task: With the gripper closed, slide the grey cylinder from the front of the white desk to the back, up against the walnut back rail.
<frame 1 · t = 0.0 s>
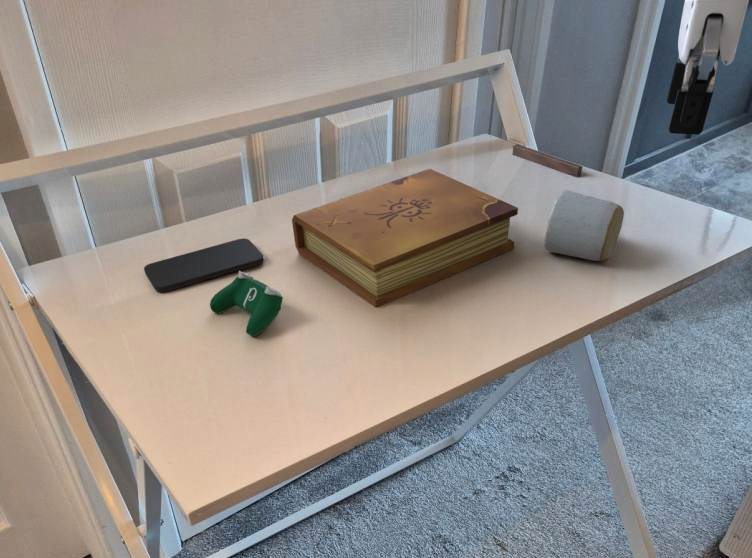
hand: (682, 117, 73), 18 cm above the table, tool pointing down, fingers open, 9 cm apart
back rail: (545, 164, 112), on the table
phone: (205, 268, 91), on the table
gaming controller: (250, 318, 82), on the table
diary: (403, 252, 92), on the table
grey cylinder: (579, 251, 91), on the table
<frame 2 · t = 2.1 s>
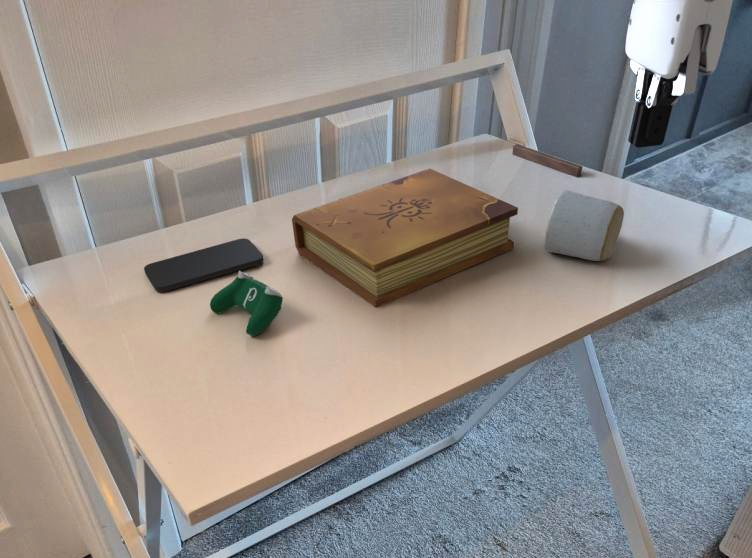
hand: (645, 143, 72), 17 cm above the table, tool pointing down, fingers closed
nothing on the table moved.
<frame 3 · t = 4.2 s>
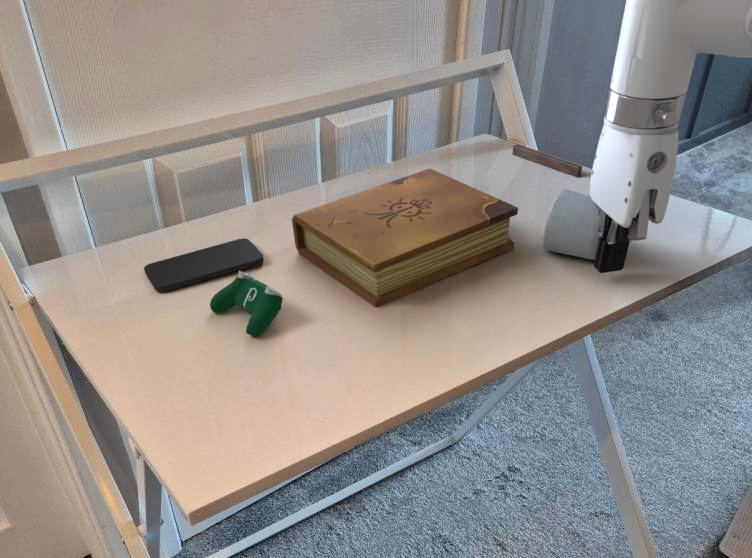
hand: (607, 268, 84), 1 cm above the table, tool pointing down, fingers closed
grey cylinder: (578, 250, 91), on the table, touching gripper
everything else where it was.
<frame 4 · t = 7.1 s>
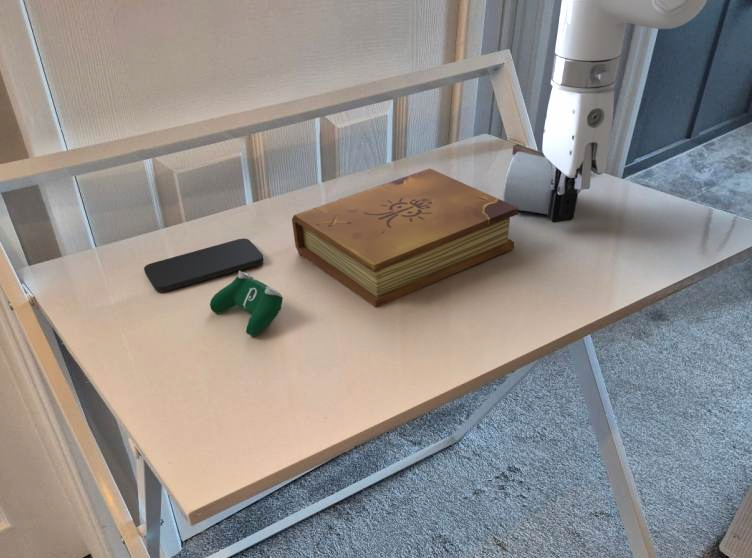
hand: (560, 218, 94), 2 cm above the table, tool pointing down, fingers closed
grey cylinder: (534, 207, 101), on the table, touching gripper
everything else where it was.
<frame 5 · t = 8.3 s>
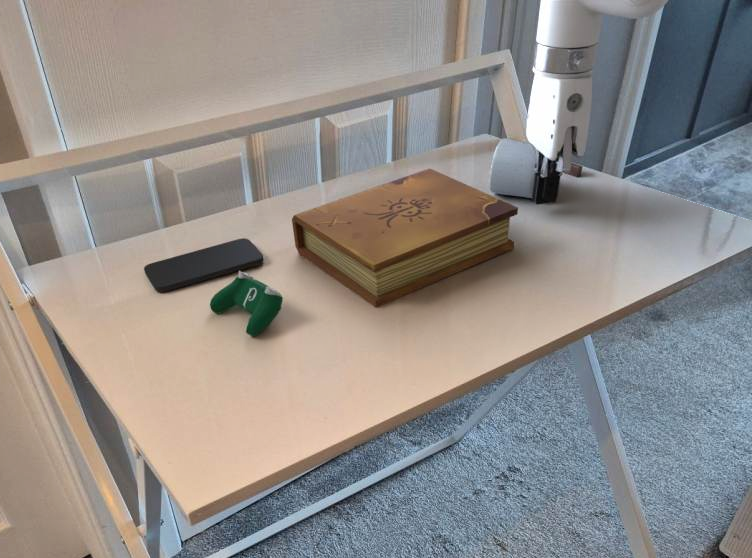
hand: (543, 201, 98), 2 cm above the table, tool pointing down, fingers closed
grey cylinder: (519, 192, 105), on the table, touching gripper
everything else where it was.
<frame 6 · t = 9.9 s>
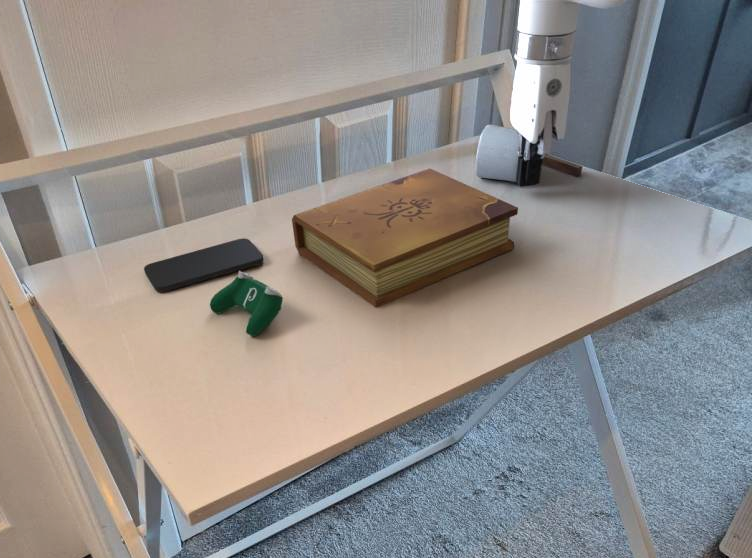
hand: (527, 183, 103), 2 cm above the table, tool pointing down, fingers closed
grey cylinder: (504, 176, 110), on the table, touching gripper
everything else where it was.
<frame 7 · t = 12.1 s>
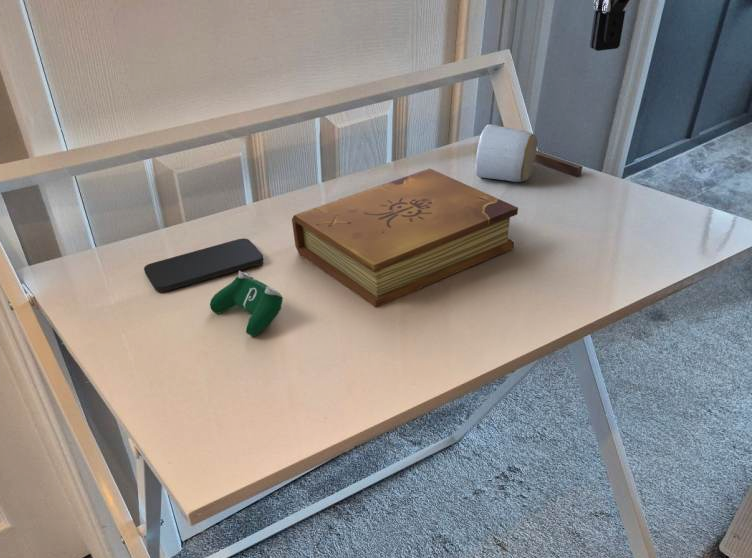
hand: (604, 47, 85), 21 cm above the table, tool pointing down, fingers closed
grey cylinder: (504, 176, 110), on the table
everything else where it was.
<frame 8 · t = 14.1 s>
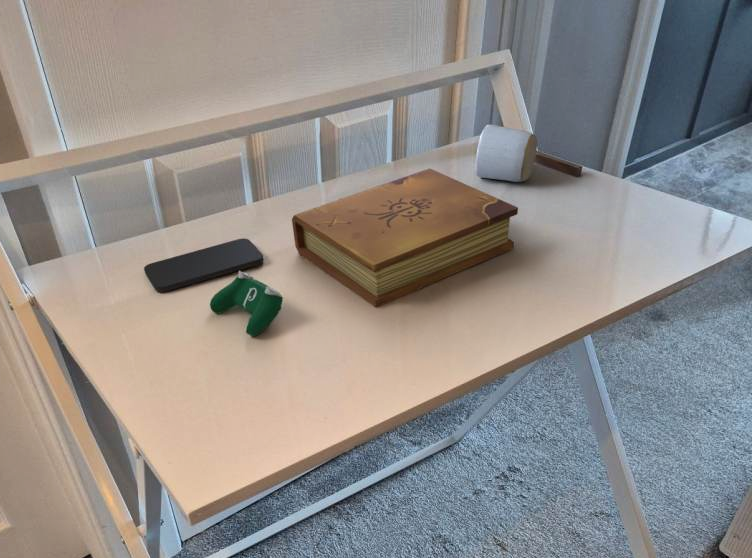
nothing on the table moved.
at the end: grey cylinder 8.1 cm from the back rail (horizontally); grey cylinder moved 27.2 cm from its start; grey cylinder tilted 0° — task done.
